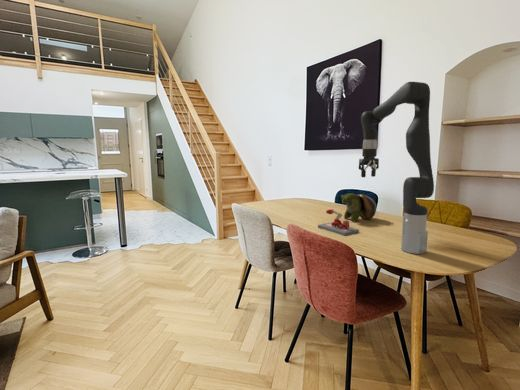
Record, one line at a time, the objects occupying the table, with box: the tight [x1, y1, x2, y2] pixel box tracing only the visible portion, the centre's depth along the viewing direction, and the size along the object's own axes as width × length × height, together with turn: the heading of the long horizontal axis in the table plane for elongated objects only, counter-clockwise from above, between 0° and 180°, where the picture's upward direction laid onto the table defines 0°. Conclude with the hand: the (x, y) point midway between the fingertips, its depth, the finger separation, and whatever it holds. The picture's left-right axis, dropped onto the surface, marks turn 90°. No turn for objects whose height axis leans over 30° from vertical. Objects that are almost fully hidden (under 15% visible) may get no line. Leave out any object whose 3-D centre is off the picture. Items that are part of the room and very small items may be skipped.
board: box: [317, 221, 360, 236], centre depth 163 cm, size 20×12×2 cm, turn 32°
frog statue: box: [340, 192, 377, 223], centre depth 185 cm, size 19×16×25 cm
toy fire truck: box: [326, 208, 350, 229], centre depth 162 cm, size 3×14×10 cm, turn 44°
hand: (368, 176), depth 161 cm, fingers open, 8 cm apart
